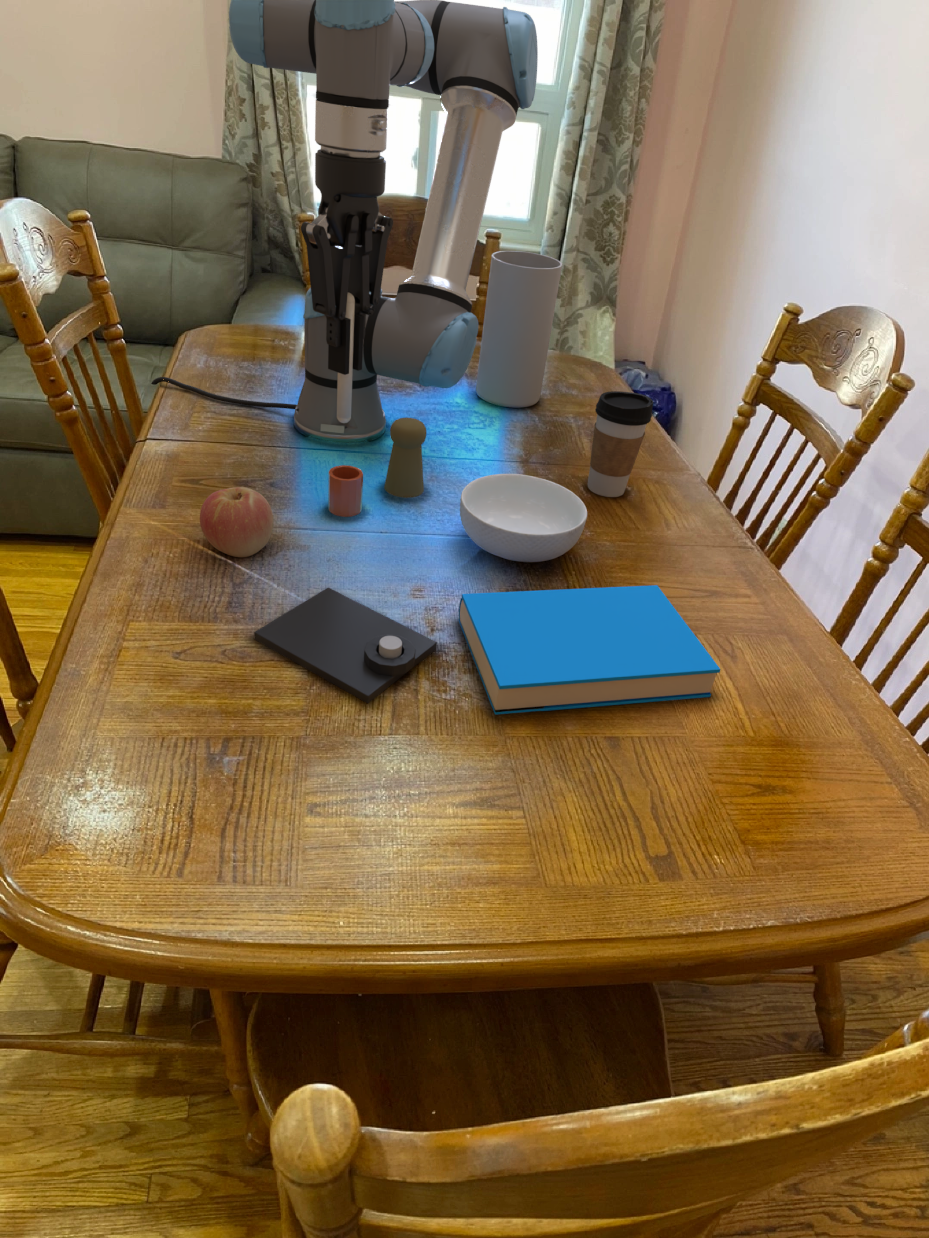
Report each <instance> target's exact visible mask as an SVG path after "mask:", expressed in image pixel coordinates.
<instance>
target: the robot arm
mask: <svg viewBox="0 0 929 1238" xmlns="http://www.w3.org/2000/svg"><path fill="white" fill-rule="evenodd" d="M228 25H229V26H228V27H229V29H228V30H229V36H230V40H231V43H232V46H233V48H234V50H235V52H236V54H237V55H238V56H239V58H240V59H241V60H242V61H243V62H245V63H247V64H250V65H255V66H260V67H263V68H264V69H274V70H275V69H276V70H282V71H283V70H284V71H292V72H299V73H306V74H314V75H316V76H315V77H316V81H315V82H316V85H315V86H316V87H315V88H316V90H315V110H314V111H315V114H314V115H315V117H314V118H315V119H314V122H315V123H314V141H315V143H316V144H317V145H319V146H320V149H318V150H316V152H315V153H314V158H315V159H314V166H315V167H314V183H315V184H314V185H315V187H316V188H317V189H318V190H319V192H320V195H321V198H320V202H319V205H318V210H317V215H318V216H317V217H315V218H314V220H312V222H309V221H303V222H302V223H301V225H300V231H301V234H302V237H303V239H304V242H305V246H306V253H307V255H306V256H307V262H308V263H307V264H308V274H309V282H310V283H309V284H310V287H309V288H308V290H307V291H306V293H305V298H304V313H303V316H302V317H303V319H304V321H303V322H304V324H303V325H304V329H303V330H304V381H303V384H302V387H301V390H300V393H299V397H298V400H297V404H296V403H295V404H294V403H293V404H292V403H283V402H265V401H255V400H247V399H241V398H233V397H228V396H224V395H220V394H215V393H211V392H209V391H206V390H204V389H201V388H199V387H195V386H193V385H189V384H185V383H183V382H180V381H178V380H175V379H173V378H171V377H166V376H159V377H156V378H154V379H153V380H152V381H151V382H150V385H158V384H159V383H168V384H171V385H173V386H175V387H178V388H180V389H183V390H185V391H189V392H193V393H195V394H198V395H201V396H203V397H206V398H209V399H213V400H216V401H220V402H224V403H230V404H235V405H242V406H250V407H257V408H258V407H259V408H271V409H272V408H274V409H287V410H294V413H293V425H294V428H295V430H297V432H299V433H300V434H301V435H303V436H305V437H306V438H312V439H315V440H319V441H323V442H329V443H339V444H353V443H362V442H363V443H364V442H371V441H374V440H377V439H378V438H380V437H381V436H383V434H384V433H386V427H387V426H386V425H387V424H386V423H387V419H386V418H387V417H386V414H385V411H384V409H383V406H382V400H381V396H380V392H379V387H378V376H381V377H386V378H390V379H394V380H400V381H403V382H409V383H414V384H419V385H420V386H422V387H424V388H425V387H426V388H428V387H432V388H439V389H450V388H452V387H454V386H455V385H457V383H459V382H460V380H461V379H462V378H463V376H464V375H465V373H466V371H467V369H468V367H469V365H470V363H471V360H472V358H473V356H474V352H475V349H476V345H477V340H478V339H477V338H478V337H477V336H478V334H479V319H478V318H477V316H476V315H475V314H474V313H472V308H473V301H472V300H471V298H470V297H469V295H468V293H467V285H468V283H469V282H468V281H469V277H470V274H471V269H472V264H473V260H474V256H475V251H476V246H477V242H478V238H479V234H480V230H481V226H482V222H483V216H484V213H485V208H486V205H487V200H488V195H489V192H490V187H491V182H492V178H493V174H494V169H495V165H496V162H497V157H498V152H499V148H500V144H501V140H502V136H503V132H505V131H506V130H508V129H509V128H511V127H512V126H514V124H515V123H516V119H517V115H518V112H519V108H520V109H521V110H525V109H529V108H530V107H531V106H532V104H533V101H534V98H535V95H536V87H537V77H538V61H539V59H538V57H539V56H538V55H539V54H538V53H539V52H538V36H537V34H538V33H537V28H536V24H535V21H534V19H533V17H532V16H531V15H530V14H529V13H527V12H525V11H520V10H514V9H509V8H508V7H507V6H503V7H502V8H500V7H493V6H485V5H477V4H471V3H470V4H469V3H464V2H463V3H462V2H456V1H448V0H447V1H446V0H398V1H397V0H230V3H229V8H228ZM391 86H396V87H398V88H402V87H403V88H404V87H407V88H410V89H412V90H415V91H420V92H423V93H427V94H430V95H431V94H432V95H436V96H440V98H439V102H440V105H441V107H442V109H443V110H444V112H445V114H446V118H445V121H444V122H445V123H444V127H443V132H442V136H441V139H440V140H441V141H440V144H439V148H438V149H439V150H438V154H437V159H436V163H435V168H434V172H433V177H432V181H431V186H430V190H429V195H428V199H427V203H426V208H425V213H424V217H423V221H422V226H421V230H420V235H419V239H418V244H417V248H416V252H415V258H414V262H413V267H412V270H411V275H410V276H409V277H408V278H406V279H404V280H402V281H401V282H399V284H398V288H397V291H396V297H387V296H383V295H382V294H383V289H382V283H383V276H384V269H385V261H386V255H387V247H388V241H389V238H390V234H391V231H392V229H393V226H394V220H393V217H389V216H385V215H383V214H382V213H381V212H380V205H379V202H378V198H379V197H381V196H382V195H383V194H384V193H385V190H386V171H387V170H386V169H387V161H386V159H385V157H384V156H382V155H381V153H383V152H384V151H386V150H387V138H388V137H387V136H388V116H389V115H388V111H389V110H388V109H389V107H390V101H389V99H390V89H391V88H390V87H391ZM348 293H351V294H352V295H353V296H354V299H355V310H354V341H353V371H352V402H351V419H350V421H349V422H347V423H341V422H340V421H339V420H338V419H337V383H338V373H341V374H344V375H346V374H349V357H350V324H351V319H349V318H346V317H345V316H346V306H347V294H348ZM163 379H164V380H163ZM168 381H169V382H168Z"/></svg>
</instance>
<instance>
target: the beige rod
mask: <svg viewBox="0 0 929 1238" xmlns="http://www.w3.org/2000/svg"><path fill="white" fill-rule="evenodd" d="M354 310H355V299H354V296H353V295H352V294H351V293H348V294H347V306H346V316H345V317H346V318H349V319H351V324H350V357H349V374H346V375H344V374H341V373H338V383H337V419H338V420H339V421H340V422H341V423H347V422H349V421H350V419H351V402H352V371H353V341H354Z"/></svg>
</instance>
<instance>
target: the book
mask: <svg viewBox="0 0 929 1238" xmlns="http://www.w3.org/2000/svg"><path fill="white" fill-rule="evenodd" d="M458 623H459V626H460V627H461V631H462V633H463V635H464V638H465V640H466V641H465V642H466V644H467V647H468V649H469V652H470V653H471V657H472V659H473V662H474V664H475V667H476V670H477V672H478V674H479V678H480V680H481V682H482V685H483V687H484V688H483V689H484V690H485V692H486V695H487V698H488V700H489V703H490V706H491V707H492V710H493V713H494V715H507V714H518V713H519V714H521V713H532V712H549V711H559V710H572V709H582V708H594V707H608V706H619V705H629V704H631V705H632V704H642V703H653V702H654V703H655V702H656V703H657V702H665V701H667V702H668V701H677V700H678V701H679V700H690V699H703V698H711V696H712V693H711V690H712V688H713V686H714V683H715V680H716V677H717V674H719V673H720V672H721V668H720V666H719V665H718V664H717V662H716V661H715V660H714V658H713V657H712V656H711V654H710V653H709V652H708V651H707V649H706V648H705V647H704V645H703V644H702V643H701V641H700V639H699V638H698V637H697V636H696V634H695V633H694V632H693V630H692V629H691V628H690V627H689V625H688V624H687V623H686V621H685V620H684V619H683V617H682V615H680V613H679V611H677V609H676V608H675V607H674V605H673V604H672V603H671V601H670V600H669V599H668V598H667V596H666V595H665V593H664V592H663V590H662V589H661V588H660V586H659V585H658V584H654V585H653V584H651V585H630V586H629V585H628V586H608V587H607V586H606V587H585V588H584V587H583V588H566V589H565V588H563V589H543V590H542V589H540V590H539V589H538V590H517V591H499V592H498V591H497V592H495V591H494V592H479V593H478V592H474V593H473V592H471V593H461V598H460V600H459V605H458ZM535 707H536V708H535ZM537 707H542V708H537ZM525 708H530V709H525ZM513 709H514V710H513ZM515 709H519V710H515ZM500 710H507V711H500Z"/></svg>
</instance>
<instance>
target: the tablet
mask: <svg viewBox="0 0 929 1238" xmlns="http://www.w3.org/2000/svg"><path fill="white" fill-rule="evenodd" d="M253 634H254V635H253V637H254V640H255V641H256V642H258V643H260V644H261V645H263V646H265V647H267V648H269V649H271V650H272V651H274V652H276V653H278V654H279V655H281V656H283V657H285V658H286V659H288V660H290V661H291V662H294V663H295V664H297V665H298V666H301V667H303V668H304V669H306V670H308V671H310V672H311V673H313V674H315V675H316V676H318V677H320V678H321V679H324V680H325V681H328V682H329V683H330V684H333V685H334V686H336V687H338V688H339V689H341V690H343V691H344V692H347V693H348V694H350V695H352V696H353V697H355V698H357V699H359V700H361V701H362V702H364V703H366V704H370V702H372V701H373V700H375V699H376V698H377V697H378V696H379V695H381V694H382V693H383V692H384V691H386V690H387V689H388V688H389V687H391V686H392V685H394V684H395V683H396V682H397V681H398V680H400V679H401V678H402V677H404V676H405V675H406V674H407V673H408V672H410V671H411V670H412V669H413V668H415V667H416V666H417V665H418V664H420V663H421V662H423V660H425V659H426V658H428V657H429V656H430V655H431V654H432V653H434V652H435V651H436V650H437V645H438V644H437V643H438V642H437V641H436V640H433V639H431V638H429V637H427V636H426V635H423V634H422V633H419V632H417V631H415V630H413V629H411V628H409V627H408V626H406V625H404V624H401V623H399V622H398V621H395V620H394V619H392V618H390V617H388V616H386V615H384V614H382V613H379V612H378V611H376V610H374V609H372V608H370V607H368V606H366V605H364V604H362V603H360V602H358V601H356V600H354V599H352V598H350V597H348V596H346V595H344V594H342V593H340V592H338V591H336V590H334V589H332V588H330V587H326V588H325V589H323V590H322V591H320V592H318V593H317V594H315V595H313V596H312V597H310V598H308V599H306V600H305V601H304V602H302V603H300V604H298V605H296V606H294V608H292V609H290V610H288V611H286V612H285V613H283V614H282V615H280V616H278V617H276V618H275V619H274V620H272V621H270V622H268V623H267V624H264V625H263V626H262V627H260V628H258V629H257V630H256V631H254V632H253ZM385 636H395V637H398V638H399V639H400V640H401V641H402V652H401V655H400V656H399V657H398V658H394V659H390V658H384V657H382V656H381V655H380V654H379V641H380V639H381V638H383V637H385Z"/></svg>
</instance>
